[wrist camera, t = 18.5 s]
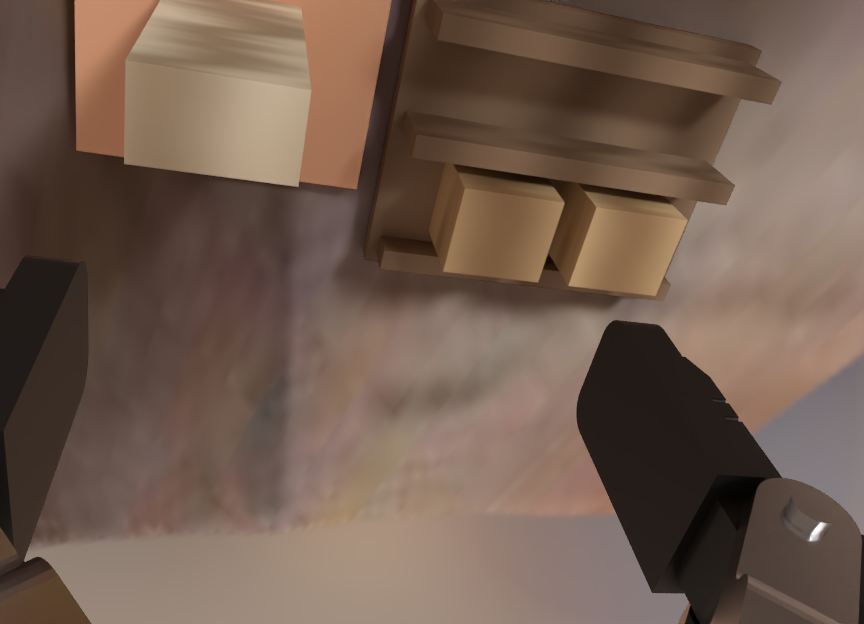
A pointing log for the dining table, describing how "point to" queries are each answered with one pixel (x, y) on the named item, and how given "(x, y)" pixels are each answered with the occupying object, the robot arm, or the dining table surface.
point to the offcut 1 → (494, 222)
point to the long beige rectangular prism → (219, 90)
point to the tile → (328, 67)
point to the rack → (552, 114)
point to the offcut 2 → (615, 238)
